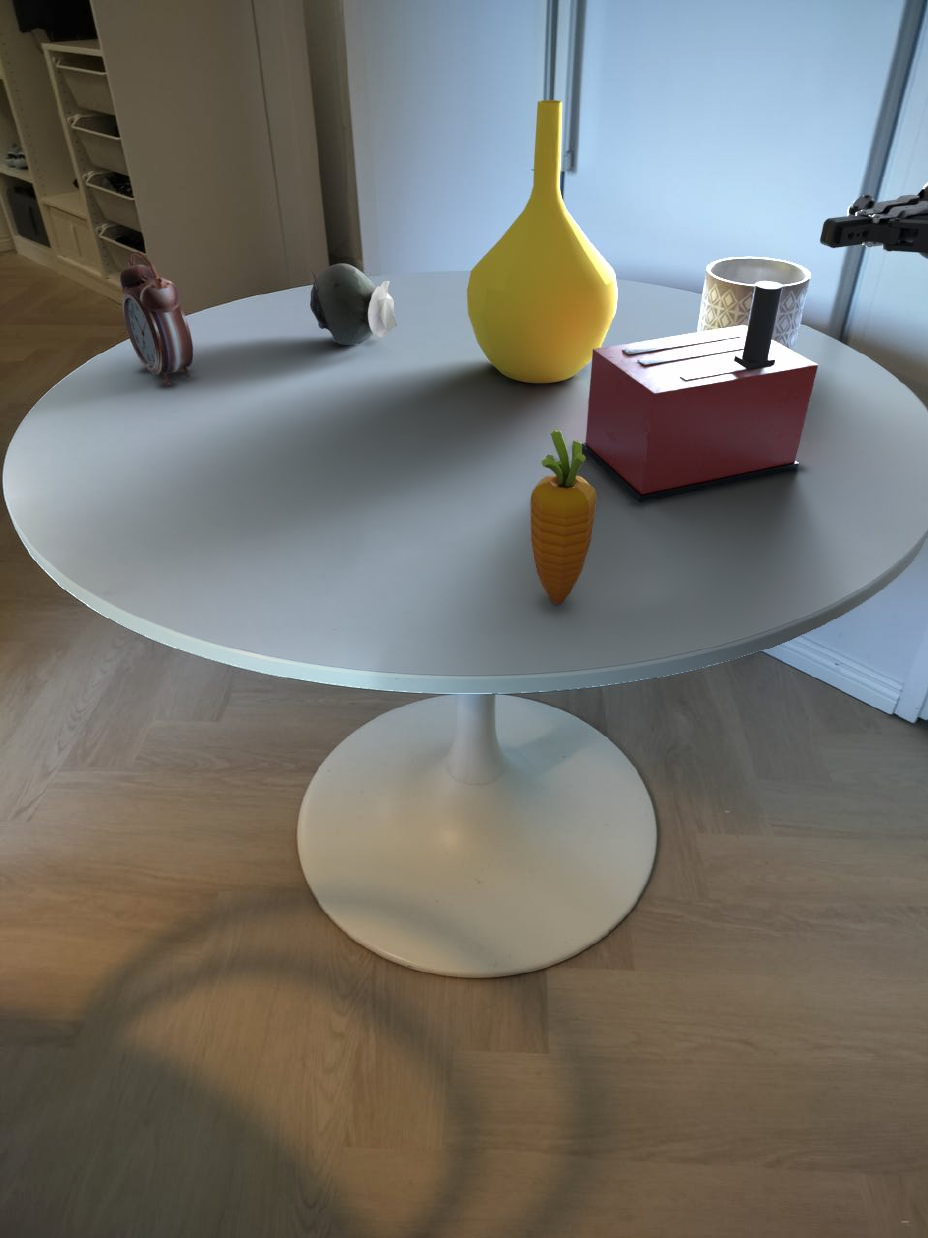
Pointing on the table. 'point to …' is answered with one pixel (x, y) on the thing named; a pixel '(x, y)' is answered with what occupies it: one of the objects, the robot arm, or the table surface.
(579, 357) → the vase
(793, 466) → the knife block
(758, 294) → the slider
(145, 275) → the alarm clock
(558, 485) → the carrot
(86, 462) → the table surface
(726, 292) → the planter
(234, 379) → the table surface
